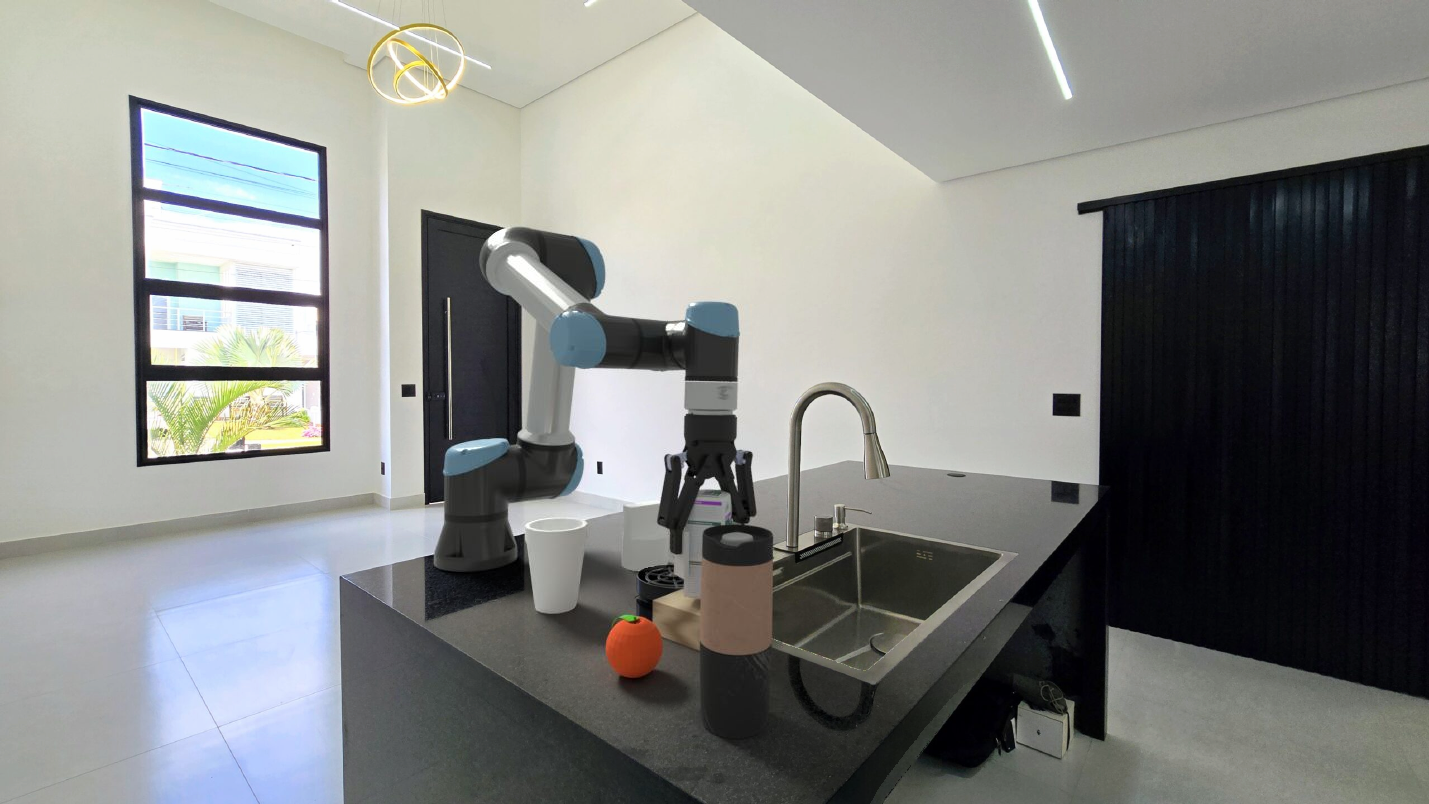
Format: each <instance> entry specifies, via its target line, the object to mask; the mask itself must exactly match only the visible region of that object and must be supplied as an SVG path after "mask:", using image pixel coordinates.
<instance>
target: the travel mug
mask: <svg viewBox="0 0 1429 804" xmlns="http://www.w3.org/2000/svg"><path fill="white" fill-rule="evenodd" d="M773 573H774V534H773V532H772V531H771V530H770V529H767V528H764V527H761V526H757V525H749V524H745V525H737V524H732V525H718V526H713V527H709V528H707V529H705V530H704V531H703V535H702V570H701V606H700V651H699V680H700V681H699V682H700V683H699V686H700V687H699V690H700V691H699V692H700V693H699V695H700V696H699V697H700V700H699V701H700V720H701V722H702V726H703V727H704V728H705V729H706V730H708V731H709V732H710V733H712V734H714V735H716V736H719V737H723V738H728V739H745V738H750V737H754V736H756V735H758V734H759V733H760V734H761V732H762V731H763V730H765V728H766V727H767V724H768V720H769V719H768V718H769V706H770V705H769V704H770V687H771V686H770V684H771V670H772V669H771V667H772V666H771V665H772V648H773V647H772V645H773V600H774V599H773V596H774V595H773V591H774V588H773V585H774V583H773V582H774V581H773V580H774V579H773V578H774V577H773V575H774V574H773Z"/></svg>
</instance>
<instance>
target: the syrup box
mask: <svg viewBox="0 0 1429 804" xmlns="http://www.w3.org/2000/svg"><path fill="white" fill-rule="evenodd" d="M732 521H733V519H732V502H731V495H730V493H728V492H725V491H722V490H721V489H711V488H710V489H707V488H706V489H699V492H698V494H697V497H696V499H695V502H694V505H693V507H692V510H691V513H690V515H689V518H688V520H687V523H686V526H685V528H684V530H687V531H689V578H688V579H683V589H684V597H688V598H694V599H701V570H702V535H703V531H704V530H705V529H707V528H709V527H713V526H718V525H732Z"/></svg>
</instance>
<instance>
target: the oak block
mask: <svg viewBox="0 0 1429 804" xmlns="http://www.w3.org/2000/svg"><path fill="white" fill-rule="evenodd" d="M700 606H701V599H694V598H688V597H684V588H682V589H679V590H676V591H673V592H670V593H669V594H666V595H663V596H661V597H658V598H655V599H652V622H653V623H654V624H655V626H656V627H657V628H658V629H659V631H660V634H661V636H662V638H665V639H668V640H670V641H673V642H675V643H678V644H679V645H684V646H686V647H688V648H691V649H693V650H696V651H699V652H700Z"/></svg>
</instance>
